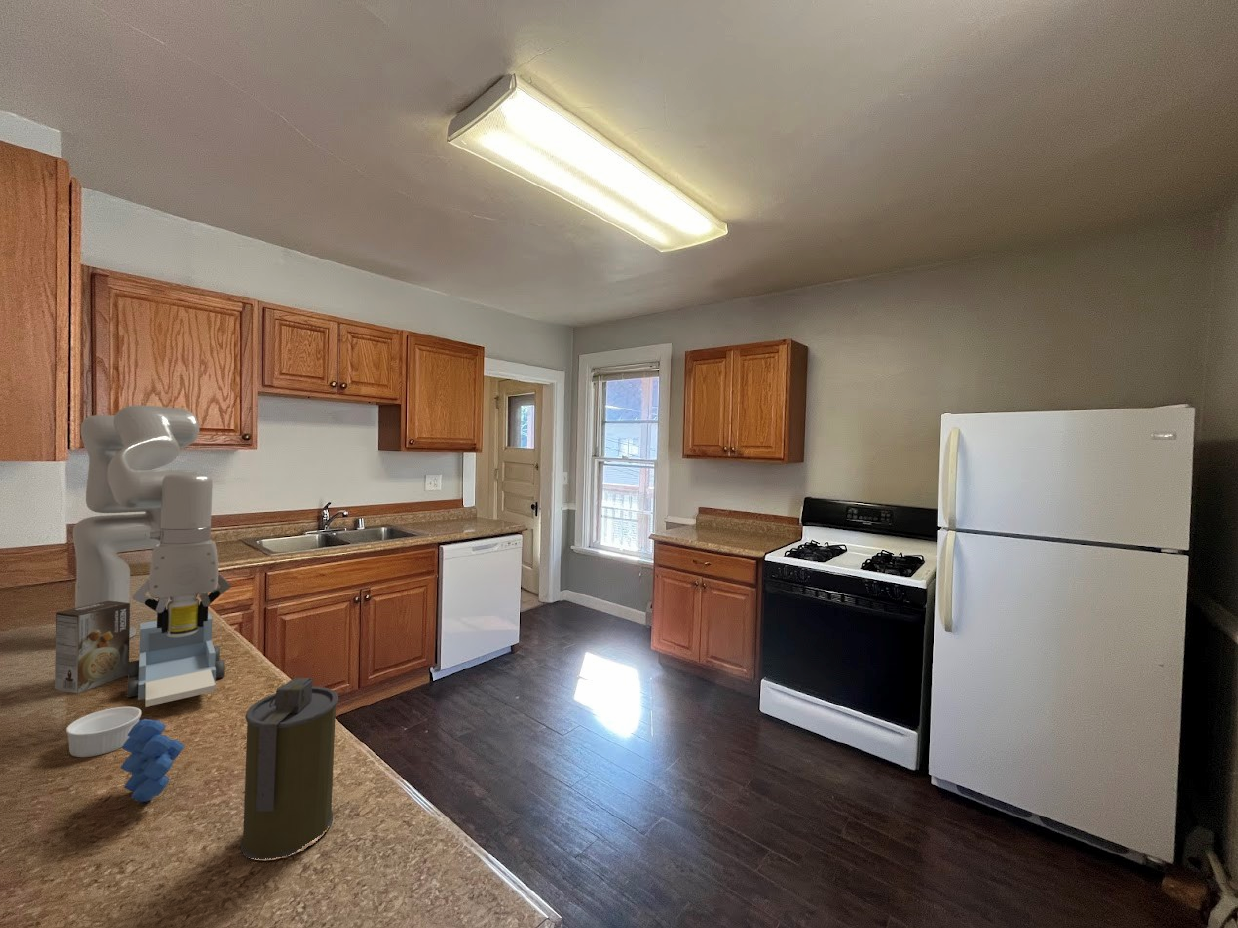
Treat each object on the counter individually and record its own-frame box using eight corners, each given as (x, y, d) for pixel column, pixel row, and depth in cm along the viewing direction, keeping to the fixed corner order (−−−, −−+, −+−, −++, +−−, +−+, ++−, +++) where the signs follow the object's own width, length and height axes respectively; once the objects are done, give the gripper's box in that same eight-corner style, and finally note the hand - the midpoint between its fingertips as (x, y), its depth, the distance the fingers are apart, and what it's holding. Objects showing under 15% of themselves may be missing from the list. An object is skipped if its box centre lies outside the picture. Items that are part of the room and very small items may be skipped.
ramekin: (150, 738, 86) (151, 714, 86) (79, 766, 78) (80, 739, 78) (125, 725, 90) (126, 701, 90) (55, 750, 82) (56, 724, 82)
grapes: (199, 799, 72) (202, 717, 72) (137, 827, 66) (140, 739, 66) (168, 770, 78) (171, 694, 78) (108, 794, 72) (111, 712, 72)
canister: (272, 804, 72) (277, 667, 72) (346, 803, 73) (352, 668, 72) (217, 866, 61) (224, 705, 61) (306, 864, 62) (312, 705, 62)
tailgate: (144, 681, 99) (144, 700, 91) (211, 668, 106) (217, 684, 98) (144, 688, 99) (143, 708, 91) (211, 674, 106) (216, 691, 98)
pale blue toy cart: (128, 674, 109) (130, 624, 109) (217, 657, 119) (219, 611, 119) (126, 702, 97) (128, 647, 97) (225, 681, 108) (226, 630, 108)
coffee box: (107, 671, 110) (109, 599, 110) (129, 675, 108) (132, 602, 108) (52, 690, 101) (55, 611, 101) (76, 694, 99) (79, 615, 99)
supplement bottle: (203, 631, 99) (205, 589, 99) (176, 639, 95) (178, 595, 95) (188, 627, 101) (189, 586, 101) (160, 635, 96) (161, 592, 96)
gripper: (124, 542, 89) (120, 643, 89) (242, 535, 101) (239, 624, 101) (125, 536, 94) (122, 631, 95) (237, 530, 106) (234, 615, 106)
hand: (182, 627), depth 98 cm, fingers closed on supplement bottle, 4 cm apart
